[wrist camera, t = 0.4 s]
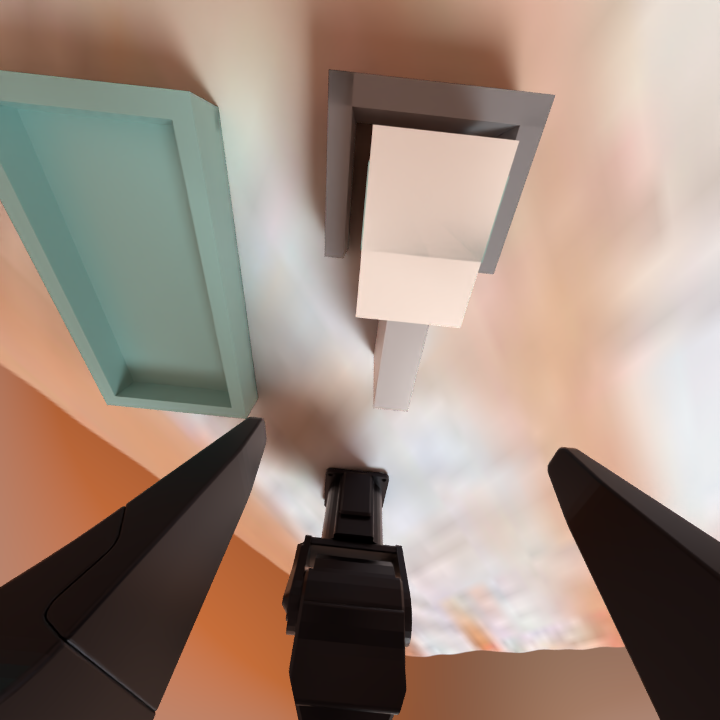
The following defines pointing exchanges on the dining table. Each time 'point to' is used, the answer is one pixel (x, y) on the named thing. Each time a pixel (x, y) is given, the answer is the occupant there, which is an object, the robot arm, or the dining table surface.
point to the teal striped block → (423, 241)
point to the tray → (132, 236)
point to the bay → (432, 113)
